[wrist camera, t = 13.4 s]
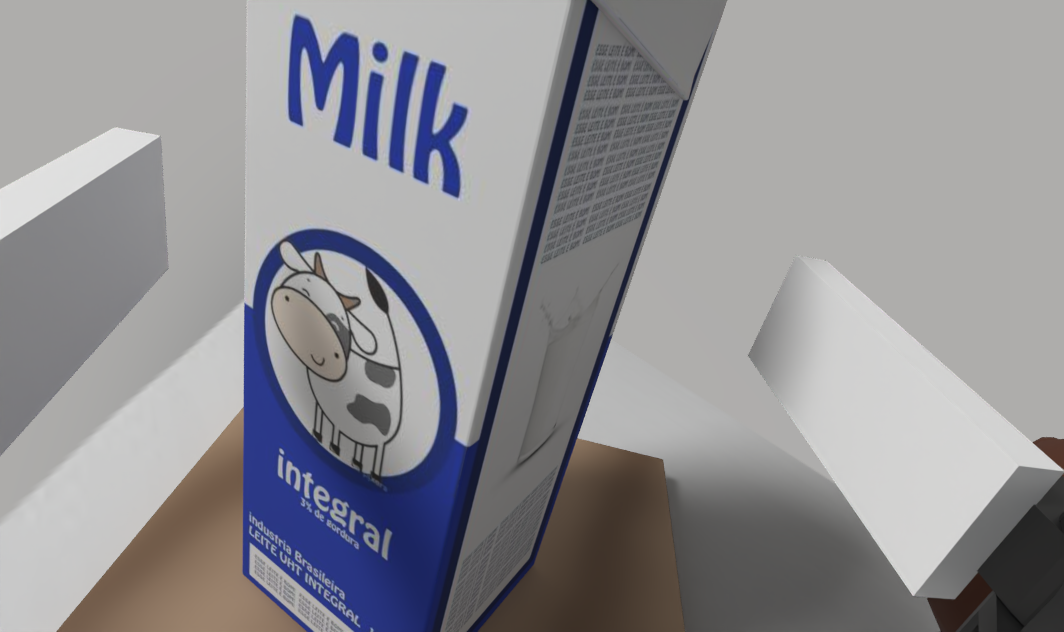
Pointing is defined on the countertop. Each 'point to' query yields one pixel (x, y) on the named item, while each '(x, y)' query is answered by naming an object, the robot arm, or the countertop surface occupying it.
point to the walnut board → (514, 628)
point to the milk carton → (438, 282)
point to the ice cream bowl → (960, 608)
